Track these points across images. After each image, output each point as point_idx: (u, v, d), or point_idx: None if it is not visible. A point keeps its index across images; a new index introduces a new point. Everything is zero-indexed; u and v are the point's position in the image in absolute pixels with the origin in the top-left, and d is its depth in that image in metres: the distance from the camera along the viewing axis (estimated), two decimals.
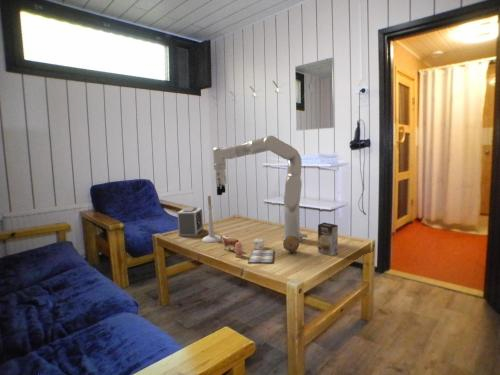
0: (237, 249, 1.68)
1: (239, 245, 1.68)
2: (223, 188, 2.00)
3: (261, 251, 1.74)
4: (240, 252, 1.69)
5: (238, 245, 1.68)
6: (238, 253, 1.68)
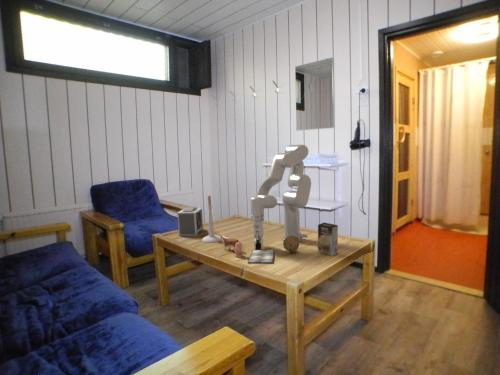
0: (237, 249, 1.68)
1: (239, 245, 1.68)
2: None
3: (261, 251, 1.74)
4: (240, 252, 1.69)
5: (238, 245, 1.68)
6: (238, 253, 1.68)
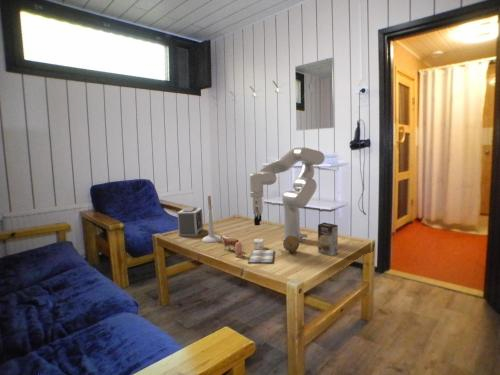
0: (237, 249, 1.68)
1: (239, 245, 1.68)
2: (259, 216, 1.84)
3: (261, 251, 1.74)
4: (240, 252, 1.69)
5: (238, 245, 1.68)
6: (238, 253, 1.68)
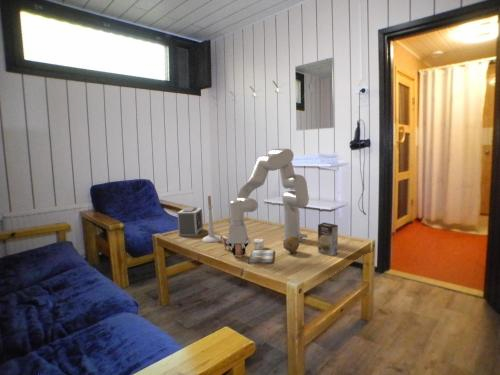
0: (237, 249, 1.68)
1: (239, 245, 1.68)
2: None
3: (261, 251, 1.74)
4: (240, 252, 1.69)
5: (238, 245, 1.68)
6: (238, 253, 1.68)
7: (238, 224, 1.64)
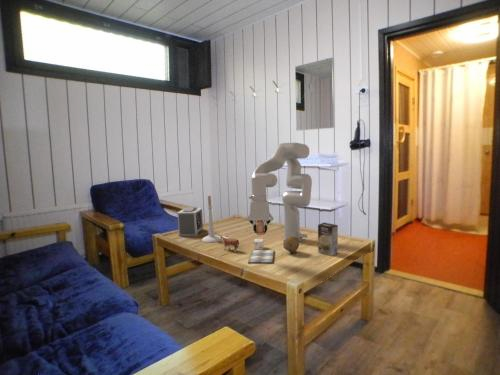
0: (259, 226, 1.60)
1: (261, 222, 1.60)
2: (264, 227, 1.61)
3: (261, 251, 1.74)
4: (262, 230, 1.61)
5: (260, 222, 1.60)
6: (260, 231, 1.61)
7: (260, 200, 1.57)
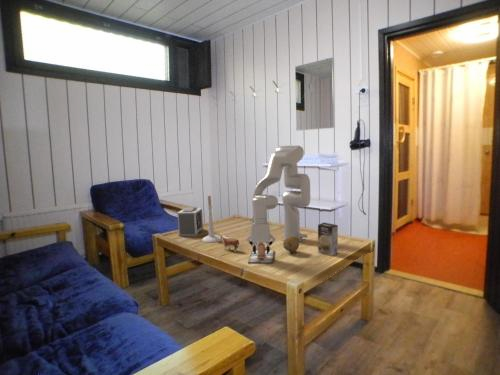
0: (260, 250, 1.62)
1: (262, 246, 1.62)
2: None
3: None
4: (263, 253, 1.63)
5: (261, 246, 1.62)
6: (261, 254, 1.62)
7: (261, 222, 1.58)
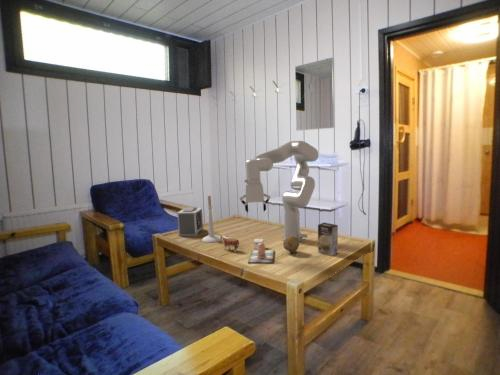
0: (260, 250, 1.62)
1: (262, 246, 1.62)
2: (263, 206, 1.72)
3: None
4: (263, 253, 1.63)
5: (261, 246, 1.62)
6: (261, 254, 1.62)
7: (255, 182, 1.67)
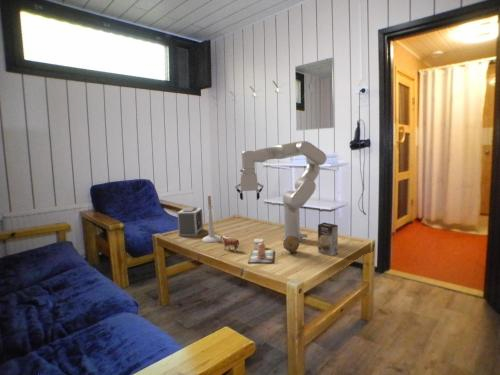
0: (260, 250, 1.62)
1: (262, 246, 1.62)
2: None
3: None
4: (263, 253, 1.63)
5: (261, 246, 1.62)
6: (261, 254, 1.62)
7: (249, 172, 1.79)
